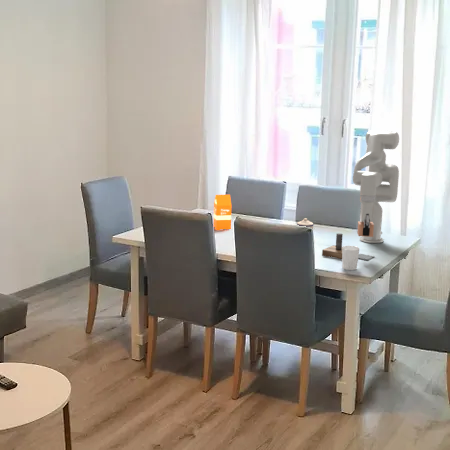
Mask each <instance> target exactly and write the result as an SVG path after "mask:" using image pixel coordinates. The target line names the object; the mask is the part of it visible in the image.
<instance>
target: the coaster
mask: <svg viewBox="0 0 450 450" xmlns="http://www.w3.org/2000/svg"><path fill="white" fill-rule="evenodd" d="M374 258H375V256H374V255H370V254H365V253H359V256H358V260H362V261H370V260H372V259H374Z"/></svg>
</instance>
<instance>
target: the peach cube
mask: <svg viewBox="0 0 450 450" xmlns="http://www.w3.org/2000/svg"><path fill="white" fill-rule="evenodd" d="M363 228H364V222H361V220H360V221H357V230H356V231H357V236H358V237H362V236H363ZM373 230H374V224H373V222H370V232H369V236H366V237H373Z"/></svg>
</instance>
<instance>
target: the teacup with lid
mask: <svg viewBox="0 0 450 450" xmlns="http://www.w3.org/2000/svg"><path fill="white" fill-rule="evenodd" d="M297 225H299V226H306V227H310V228H312V229H313V230H314V223H313V222H312V221H310V220H308V218H306V217H305V218H303V220H301V221H297V223H296V226H297Z"/></svg>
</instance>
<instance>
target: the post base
mask: <svg viewBox="0 0 450 450" xmlns="http://www.w3.org/2000/svg"><path fill="white" fill-rule="evenodd" d="M342 247H343V233H336V237H335V244H334V245H331V246H328V247H326V248H323V249H322V252H321V256H322V257H328V258H332V259H333V258H334V259H338V260H342Z"/></svg>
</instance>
